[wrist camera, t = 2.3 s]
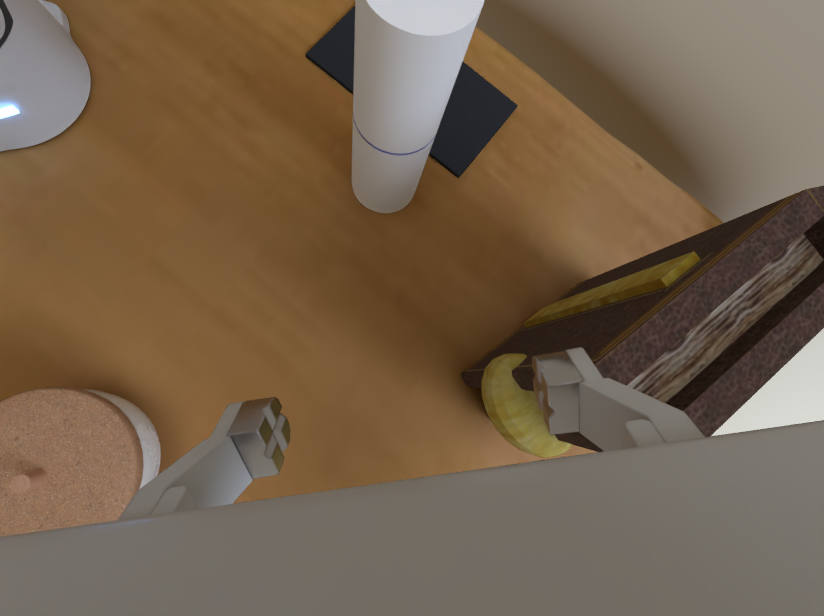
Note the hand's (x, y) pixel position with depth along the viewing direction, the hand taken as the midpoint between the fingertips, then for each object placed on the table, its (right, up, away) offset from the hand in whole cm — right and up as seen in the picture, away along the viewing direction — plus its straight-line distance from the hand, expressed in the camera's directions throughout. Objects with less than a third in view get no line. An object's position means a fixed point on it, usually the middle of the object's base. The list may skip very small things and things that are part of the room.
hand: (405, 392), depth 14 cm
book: (+14, -2, +34) cm, 36 cm away
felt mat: (+1, +29, +37) cm, 47 cm away
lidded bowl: (-27, -11, +26) cm, 39 cm away
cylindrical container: (-3, +16, +34) cm, 38 cm away
